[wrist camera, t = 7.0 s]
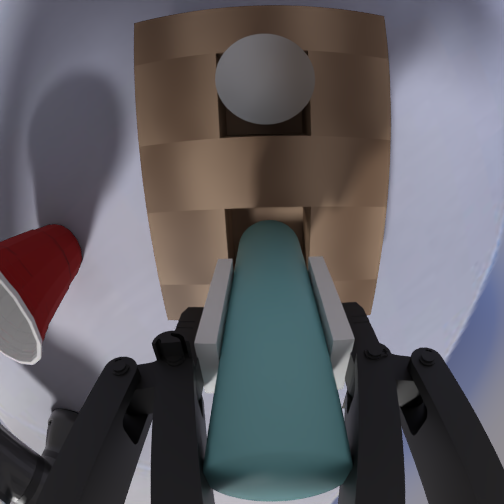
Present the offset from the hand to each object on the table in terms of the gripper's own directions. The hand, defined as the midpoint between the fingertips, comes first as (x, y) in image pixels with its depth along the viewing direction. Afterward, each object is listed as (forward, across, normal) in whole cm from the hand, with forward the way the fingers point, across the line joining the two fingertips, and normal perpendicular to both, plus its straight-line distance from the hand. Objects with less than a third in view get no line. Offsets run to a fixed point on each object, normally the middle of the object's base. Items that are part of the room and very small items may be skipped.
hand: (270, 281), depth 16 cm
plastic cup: (+10, -21, -2) cm, 23 cm away
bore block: (+9, 0, +5) cm, 11 cm away
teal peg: (+4, 0, 0) cm, 4 cm away
